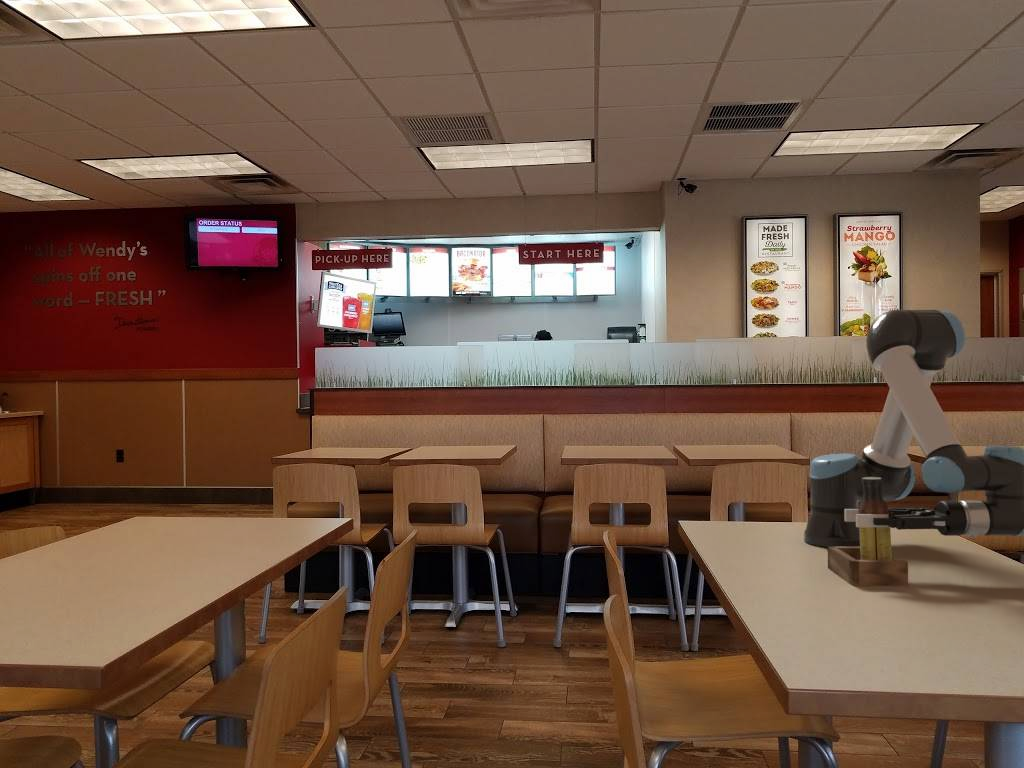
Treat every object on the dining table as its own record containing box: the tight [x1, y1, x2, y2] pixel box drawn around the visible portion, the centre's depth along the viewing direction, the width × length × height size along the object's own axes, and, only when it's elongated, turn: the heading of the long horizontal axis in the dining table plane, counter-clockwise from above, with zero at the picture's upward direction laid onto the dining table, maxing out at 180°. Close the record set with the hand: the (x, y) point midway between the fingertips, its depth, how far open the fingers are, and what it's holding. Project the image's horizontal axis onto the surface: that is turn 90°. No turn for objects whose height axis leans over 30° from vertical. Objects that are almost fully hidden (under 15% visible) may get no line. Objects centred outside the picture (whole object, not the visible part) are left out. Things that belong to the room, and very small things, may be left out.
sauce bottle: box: [858, 477, 893, 560], centre depth 167 cm, size 6×6×20 cm
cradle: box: [827, 546, 909, 587], centre depth 168 cm, size 12×15×5 cm
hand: (850, 517), depth 168 cm, fingers closed on sauce bottle, 6 cm apart
